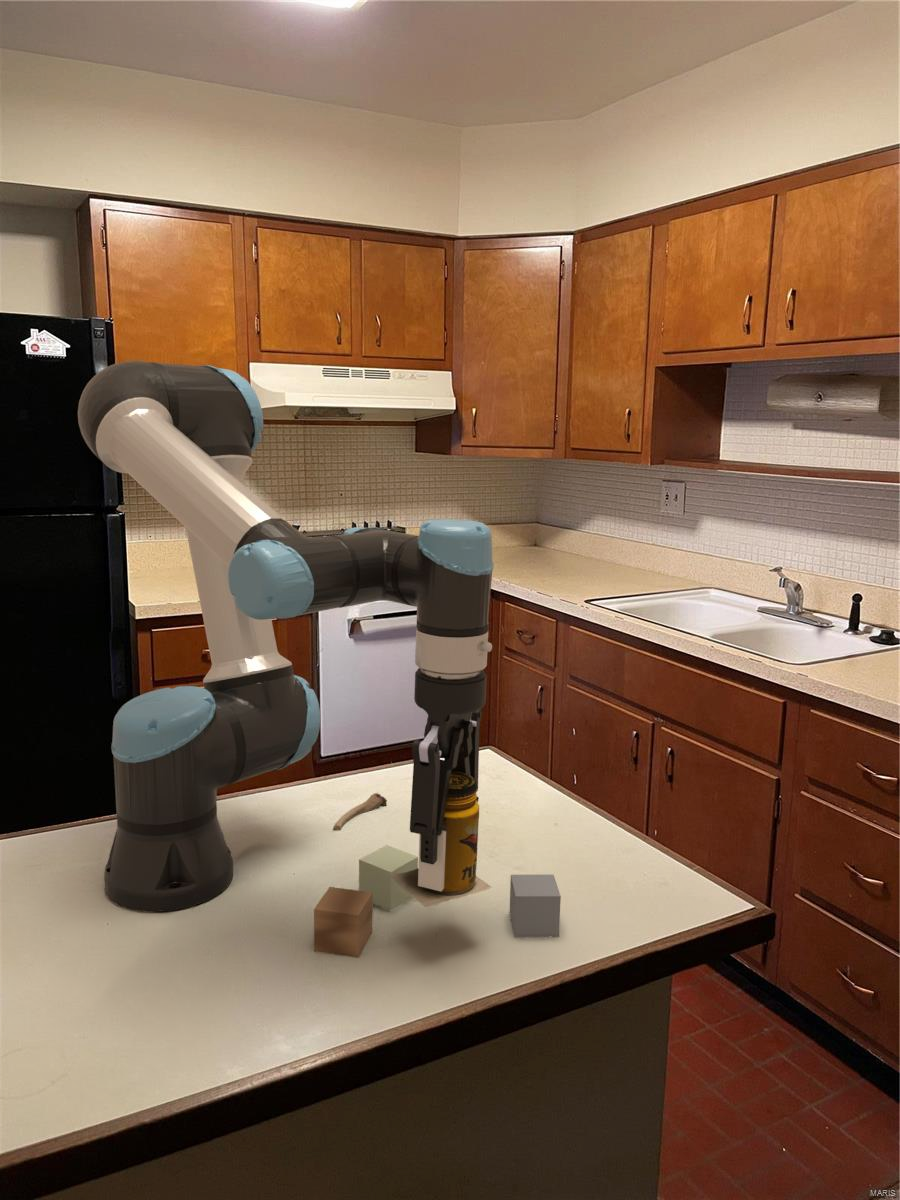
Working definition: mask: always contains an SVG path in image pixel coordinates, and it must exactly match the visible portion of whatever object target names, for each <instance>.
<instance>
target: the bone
mask: <svg viewBox="0 0 900 1200" xmlns="http://www.w3.org/2000/svg"><path fill="white" fill-rule="evenodd" d="M387 802H388V800H387V799H386V797H384V796H383V795H381V794H380V793H379V792H374V793H373V794H371V795H370V797H368V799H366V801H364V802H363V803H361V804H358V805H356V806H354V807H352V808H351V809H349V810H348V811H347V812H346V813H344V814H342V816H341V817H340V818H339V819H338V820H337V821H336V823H334V826H333V827H332V831H341V830H342V827H343V826H344V825H345V824H346V823H347V822H348V821H350V820H351V819H352V818H354V817H355V816H357V815H359V814H361V813H367V812H369V811H372V810H375V809H379V808H380V806H381V807H386V806H387V805H388V804H387Z"/></svg>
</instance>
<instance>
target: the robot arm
mask: <svg viewBox="0 0 900 1200" xmlns="http://www.w3.org/2000/svg"><path fill="white" fill-rule="evenodd" d="M77 408H78V409H77V420H78V426H79V430H80V433H81V436H82V438H83V440H84V442H85V443H86V445H87V447H88V448H89V449H90V450H91V452H92V453H93V454H94V455H95V456H96V457H97V459H98V460H100V461H101V462H102V463H103V464H104V465H105V466H106V467H107V468H109V469H111V470H112V471H115V472H116V473H117V472H118V473H119V474H128V475H129V476H130V477H131V478H132V479H133V480H134V481H136V482H137V483H138V484H139V485H140V486H141V488H143V489H144V490H145V491H146V492H147V493H148V494H149V495H150V496H152V497H153V498H154V499H155V501H157V502H158V503H159V504H160V505H161V506H162V507H164V508H165V510H167V512H169V513H170V514H171V515H172V516H173V517H174V518H175V519H176V520H177V521H179V522H180V524H182V525H183V526H184V527H185V530H186V531H185V532H186V535H187V536H186V538H187V542H188V546H189V552H190V559H191V562H192V567H193V574H194V577H195V583H196V587H197V593H198V597H199V598H198V599H199V603H200V609H201V615H202V618H203V619H202V620H203V625H204V630H205V631H204V632H205V635H206V641H207V645H208V650H209V655H210V659H211V660H210V662H211V667H210V669H209V671H208V672H207V674H205V676H204V677H203V679H202V682H203V683H202V684H203V688H202V687H200V686H195V685H194V686H193V685H180V686H176V687H172V688H170V687H164V688H158V689H155V690H152V691H149V692H145V693H142V694H140V695H137V696H135V697H134V698H132V699H130V700H129V701H127V702H126V703H124V704H123V705H122V706H121V707H120V708H119V709H118V711H117V713H116V714H115V716H114V718H113V721H112V722H113V725H112V739H111V740H112V742H111V747H110V749H111V753H112V755H113V769H114V770H113V771H114V773H113V774H114V789H115V791H114V793H115V809H116V830H115V834H114V838H113V841H112V845H111V848H110V851H109V855H108V858H107V859H108V860H107V863H106V865H105V868H104V872H103V873H104V874H103V878H104V882H103V883H104V893H105V896H106V897H107V899H108V900H109V901H110V902H111V903H113V904H115V905H117V906H118V907H120V908H124V909H127V910H132V911H137V912H150V913H151V912H155V913H157V912H169V911H170V912H171V911H175V910H181V909H182V910H183V909H185V908H189V907H193V906H196V905H199V904H202V903H203V902H206V901H209V900H211V899H213V898H215V897H217V896H218V895H219V894H221V893H222V892H223V891H225V890H226V889H227V888H228V886H229V885H230V884H231V883H232V880H233V877H234V862H233V861H234V860H233V854H232V851H231V849H230V848H229V847H228V845H227V843H226V839H225V836H224V832H223V830H222V827H221V825H220V822H219V819H218V808H217V807H218V806H217V804H218V803H217V800H218V799H217V798H218V797H217V792H218V791H217V790H218V789H221V788H223V787H226V786H229V785H233V784H236V783H239V782H241V781H245V780H247V779H250V778H254V777H256V776H259V775H262V774H265V773H269V772H274V771H275V772H276V771H281V770H282V769H284V768H286V767H287V766H289V765H292V764H294V763H296V762H298V761H301V760H302V759H303V758H305V757H306V756H308V754H309V753H310V752H311V751H312V749H313V745H315V743H316V741H317V740H318V736H319V733H320V727H321V711H320V704H319V699H318V697H317V694H316V693H315V690H314V689H313V688H310V683H309V682H308V681H307V680H306V679H305V678H303V677H301V676H299V675H295V674H294V669H293V664H292V663H293V662H292V661H290V660H289V659H288V658H286V657H284V656H283V655H281V654H280V653H279V651H278V647H277V641H276V637H275V631H274V626H273V621H272V620H273V619H279V620H285V619H289V618H295V617H297V616H303V615H308V614H312V613H319V612H323V611H329V610H334V609H337V608H339V609H340V608H347V607H353V606H358V605H364V604H370V603H375V602H385V601H386V602H393V603H397V604H401V605H406V606H410V607H415V608H416V627H415V628H416V631H415V654H414V655H415V656H414V663H415V665H416V666H417V667H418V668H417V670H416V671H415V672H414V695H413V697H414V703H415V704H416V705H417V707H418V708H420V709H422V710H423V711H424V712H425V713H427V718H426V719H427V720H426V724H425V727H424V733H423V737H424V738H423V739H422V740H417V739H414V741H413V742H412V746H411V750H412V760H413V762H412V763H413V764H412V765H413V767H412V768H413V769H412V784H411V800H410V814H409V815H410V818H409V819H410V820H409V832H410V833H413V834H417V835H419V843H418V886H421V887H425V888H429V889H433V890H437V891H442V890H443V889H444V877H445V851H446V831H443V822H444V816H445V809H446V802H447V796H448V789H449V782H450V776H451V771H453V772H462V773H465V774H469V775H470V776H472V777H473V778H474V779H475V780H476V783H477V790H476V793H477V792H478V791H479V765H480V764H479V760H480V759H479V758H480V753H479V752H480V727H481V719H482V715H483V714H482V710H481V709H482V708H484V706H485V704H486V700H487V698H486V697H487V682H488V681H487V679H488V676H487V673H486V672H485V671H484V670H485V669H486V667H487V666H488V653H490V652H491V651H492V650H493V645H492V642H490V641H489V626H490V625H489V624H490V622H489V613H490V603H491V589H492V580H493V578H492V576H493V570H494V562H493V535H492V531H491V529H490V528H489V526H488V525H487V524H485V523H482V522H480V521H474V520H468V519H467V520H466V519H465V520H464V519H463V520H462V519H456V518H455V519H451V518H447V519H446V518H442V519H440V518H439V519H429V520H425V521H424V522H423V523H422V524H421V525H420V526H419V535H416V534H409V533H404V532H399V531H398V532H397V531H392V530H391V531H390V530H386V529H382V528H381V527H375V526H373V527H372V526H371V527H357V526H356V527H352V528H348V529H346V530H345V531H344V532H342V533H341V534H336V535H333V534H332V535H331V534H330V535H323V536H313V537H312V536H311V537H310V536H307V535H305V534H303V533H302V532H301V531H299V530H298V529H297V528H295V527H294V526H293V525H292V524H290V523H289V522H288V521H287V520H286V519H285V518H283V517H282V516H281V515H280V514H279V513H278V512H276V511H275V510H274V509H273V508H272V507H270V506H269V505H268V504H267V503H265V501H263V500H262V499H261V498H259V496H258V495H256V494H255V493H254V492H253V491H251V489H249V488H248V487H247V486H246V482H245V481H246V480H245V474H246V472H247V471H248V470H249V468H250V467H251V465H252V464H253V456H252V452H254V450H256V448H258V446H259V444H260V443H261V439H262V434H261V433H260V432H261V431H263V429H264V416H263V409H262V405H261V402H260V400H259V396H258V395H257V392H256V390H254V387H253V386H252V385H251V384H250V382H249V381H248V380H247V379H246V378H245V377H243V376H241V374H239V373H238V372H236V371H234V370H231V369H228V368H221V367H220V368H219V367H216V366H212V365H210V364H209V365H208V364H202V365H189V364H177V363H166V362H165V363H164V362H152V361H151V362H148V361H144V360H127V361H120V362H117V363H113V364H110V365H109V366H106V367H105V368H103V369H101V370H100V371H99V372H98V373H96V374H95V375H94V376H93V377H91V379H90V380H89V381H88V382H87V383H86V385H85V387H84V389H83V391H82V393H81V395H80V399H79V402H78V407H77ZM443 759H444V760H443ZM479 800H480V799H479V796H477V799H476V801H477V802H478V803H479Z"/></svg>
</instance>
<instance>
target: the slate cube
mask: <svg viewBox="0 0 900 1200" xmlns="http://www.w3.org/2000/svg"><path fill="white" fill-rule="evenodd" d="M554 875H555V874H510V885H509V886H510V887H509V888H510V889H509V912H508V913H510V914H509V918H511V919H510V922H511V923H512V924H511V923H510V924H511V928H512V933H513V937H514V938H550V937H549V936H552V937H551V938H559V937H560V921H561V917H560V916H561V900H562V899H561V898H562V897H561V896H562V895H561V893H560V889H559V886H558V884H557V880H556V878H555V876H554Z"/></svg>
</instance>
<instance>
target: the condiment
mask: <svg viewBox="0 0 900 1200" xmlns="http://www.w3.org/2000/svg"><path fill="white" fill-rule="evenodd" d="M476 790H477V783H476V780H475V779H474V778H473V777H472V776H470V775H469V774H465V773H462V772H453V771H451V776H450V782H449V789H448V796H447V802H446V809H445V816H444V822H443V831H446V851H445V877H444V889H443V890H442V891H437V890H433V889H429V888H425V887H421V886H418V868H417V869H415V870H412V871H408V872H405V873H398V874H396V875H392V876H391V877H392V878H393V879H394V880H395V882H397V883H398V884H399V885H400V886H401V887H402V888H403V889H404V890H405V891H406V892H407V893H409V894H410V896H412V897H413V898H412V899H415V900H416V901H417V903H419V904H420V905H422V906H423V907H424V908H425V909H427V908H430V907H432V906H436V905H440V904H441V903H446V902H449V901H451V900H452V901H453V900H455V899H460V898H464V897H465V898H466V897H467V896H469V895H473V894H477V893H479V892H483V891H487V890H489V889H491V888H492V886H491V885H490V884H488V883H487V882H486V881H484V880H483V879H481V878H480V877H478V875H477V863H478V862H477V861H478V857H477V856H478V840H479V819H480V805H479V801H478V802H477V801H476V799H477V797H478V795H477V792H476Z"/></svg>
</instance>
